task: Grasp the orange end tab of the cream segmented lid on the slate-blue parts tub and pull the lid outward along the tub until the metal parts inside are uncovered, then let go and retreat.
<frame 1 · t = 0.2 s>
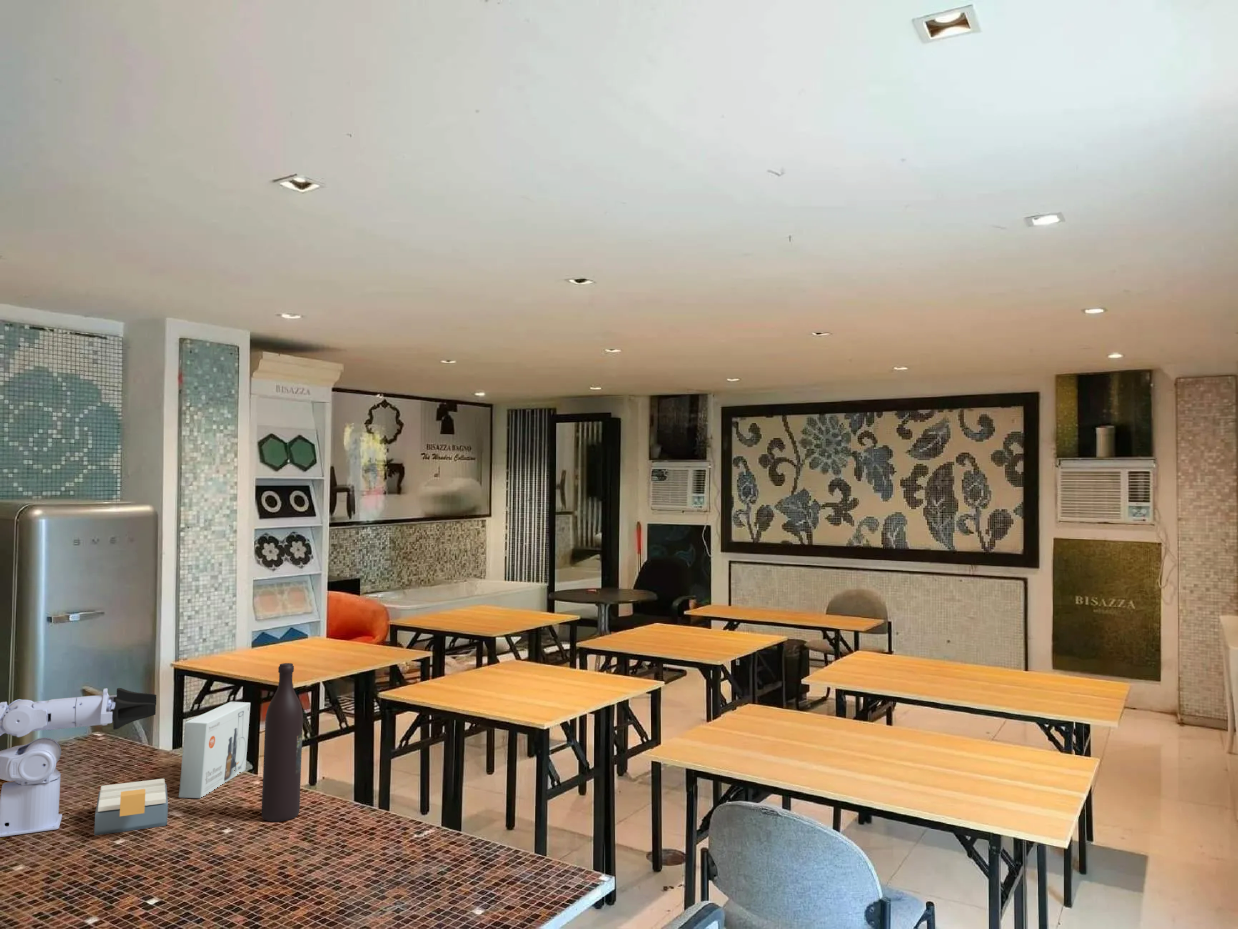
hand: (156, 704, 174), 21 cm above the table, tool horizontal, fingers open, 7 cm apart
lid: (133, 790, 168), point 6 cm above the table, slide at 0.0 cm
skincare box: (215, 784, 192), on the table
wine bottle: (280, 817, 172), on the table
tub: (131, 818, 169), on the table
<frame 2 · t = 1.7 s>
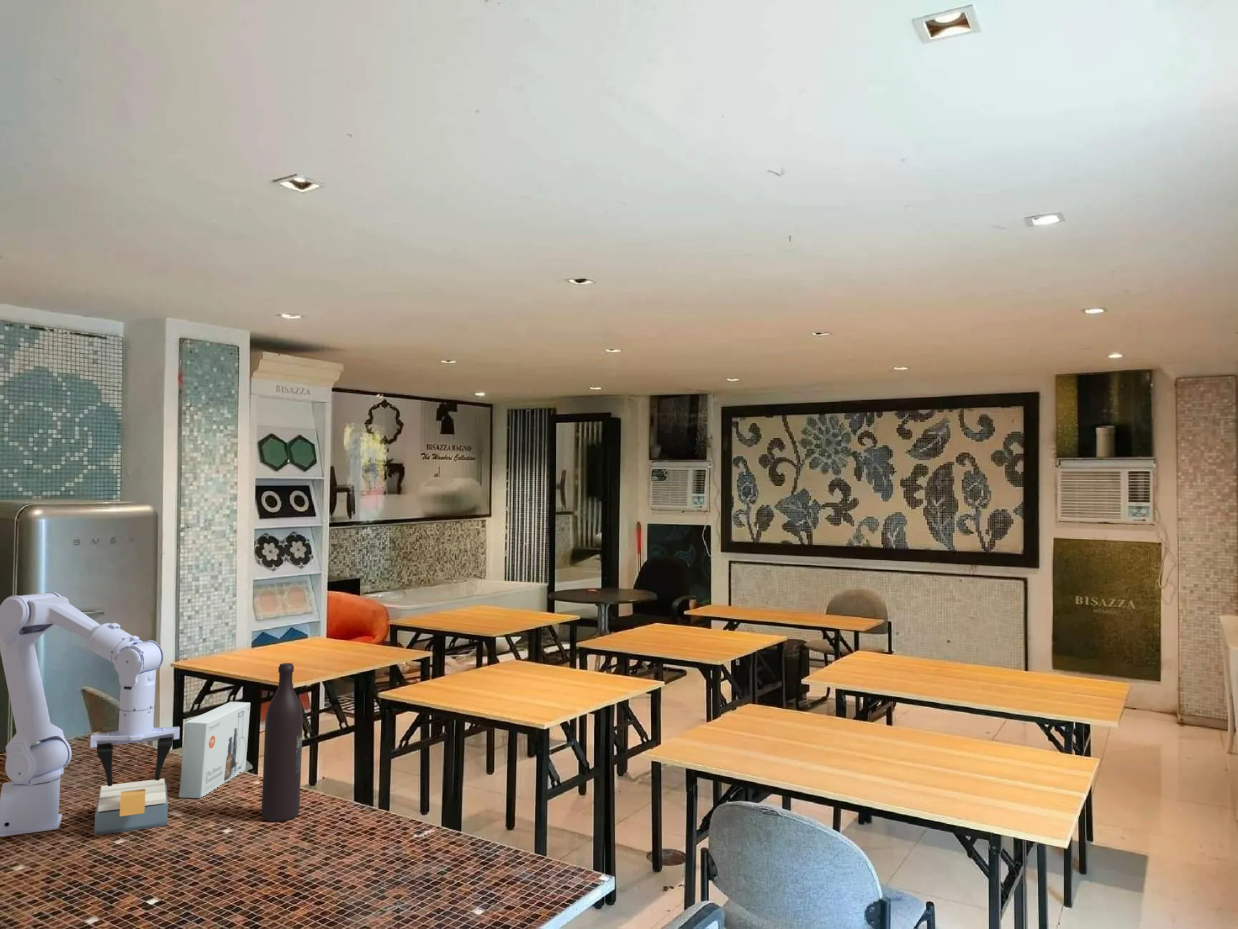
hand: (133, 781, 161), 10 cm above the table, tool pointing down, fingers open, 7 cm apart
nothing on the table moved.
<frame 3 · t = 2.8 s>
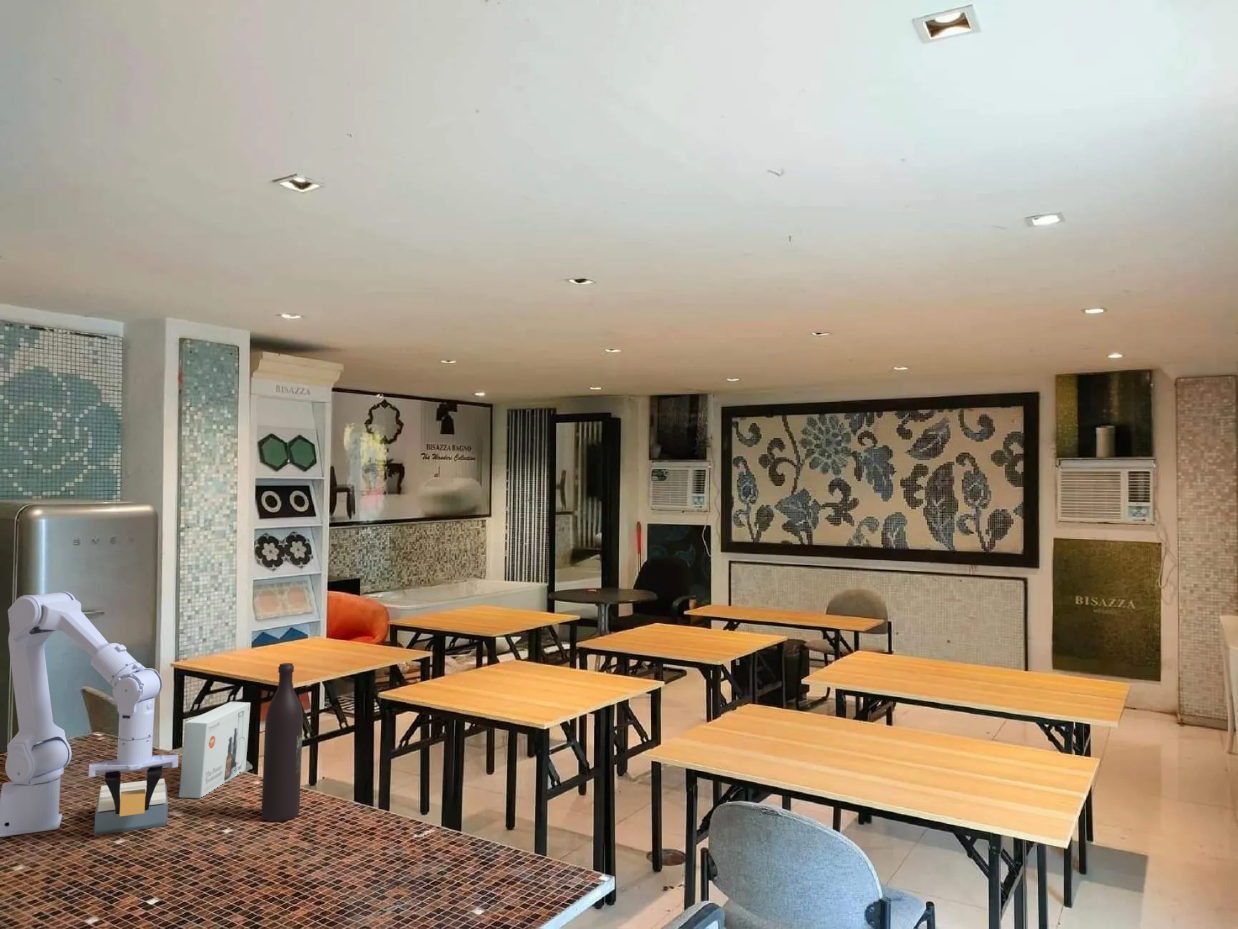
hand: (132, 810, 161), 5 cm above the table, tool pointing down, fingers closed on lid, 4 cm apart
lid: (133, 790, 168), point 6 cm above the table, slide at 0.0 cm, touching gripper
everything else where it was.
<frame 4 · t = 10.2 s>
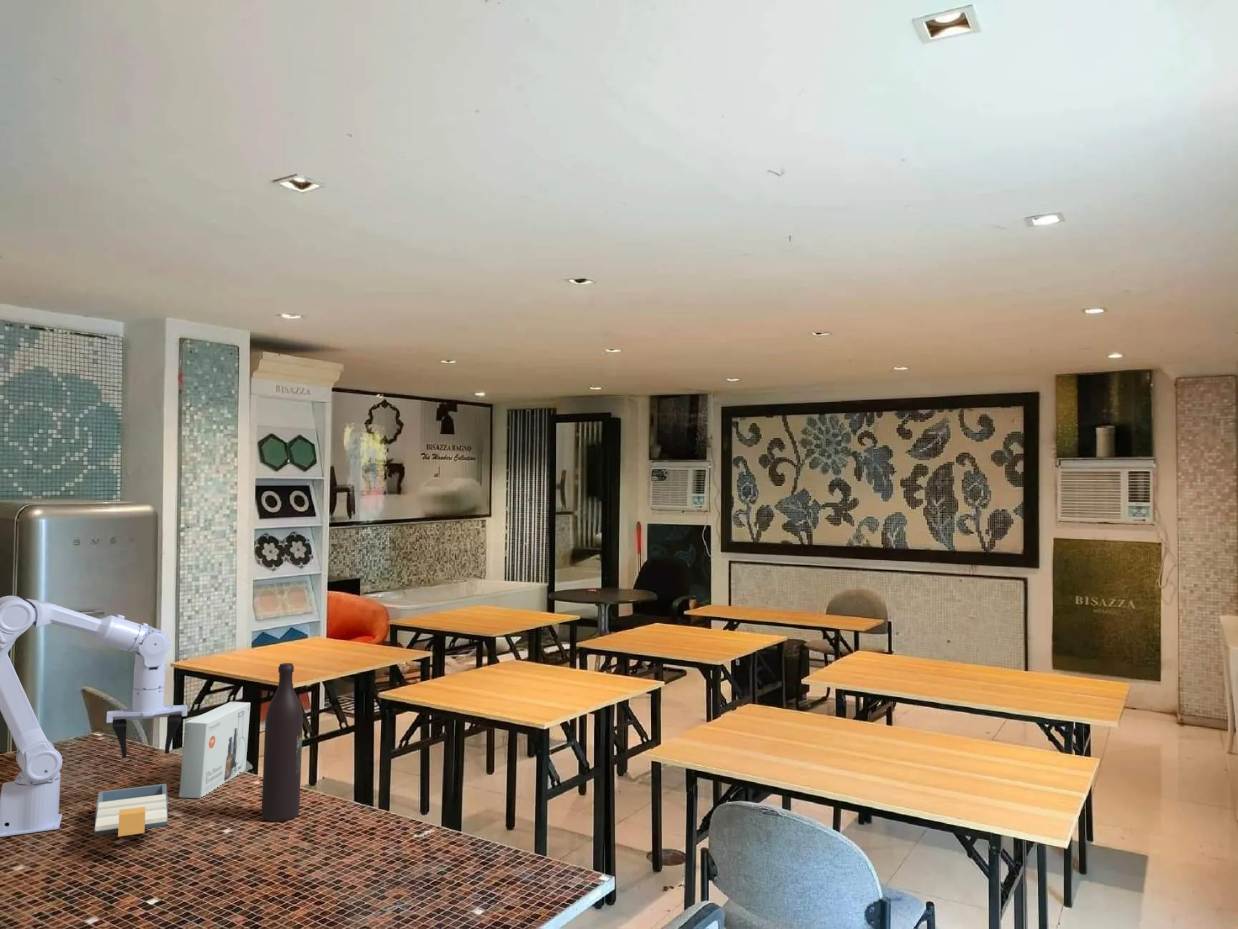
hand: (145, 754, 177), 10 cm above the table, tool pointing down, fingers open, 7 cm apart
lid: (132, 807, 158), point 6 cm above the table, slide at 10.9 cm
everything else where it was.
at the end: lid slide at 10.9 cm; the gripper is holding nothing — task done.
